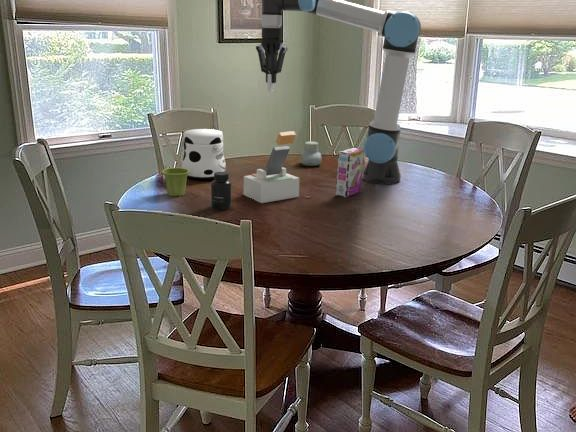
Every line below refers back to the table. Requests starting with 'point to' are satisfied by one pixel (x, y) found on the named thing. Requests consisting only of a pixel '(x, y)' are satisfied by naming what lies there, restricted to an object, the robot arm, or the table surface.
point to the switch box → (271, 186)
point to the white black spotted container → (203, 153)
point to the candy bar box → (349, 172)
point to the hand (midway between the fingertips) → (270, 91)
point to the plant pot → (176, 180)
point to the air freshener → (311, 154)
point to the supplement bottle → (221, 191)
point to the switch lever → (279, 153)
